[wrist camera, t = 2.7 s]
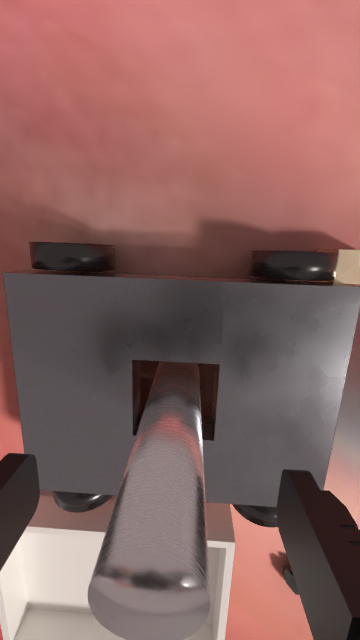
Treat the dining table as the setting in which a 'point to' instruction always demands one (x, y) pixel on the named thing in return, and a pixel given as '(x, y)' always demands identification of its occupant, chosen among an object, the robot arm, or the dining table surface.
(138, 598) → the pin
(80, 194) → the dining table surface
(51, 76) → the dining table surface
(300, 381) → the trolley
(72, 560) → the tray
